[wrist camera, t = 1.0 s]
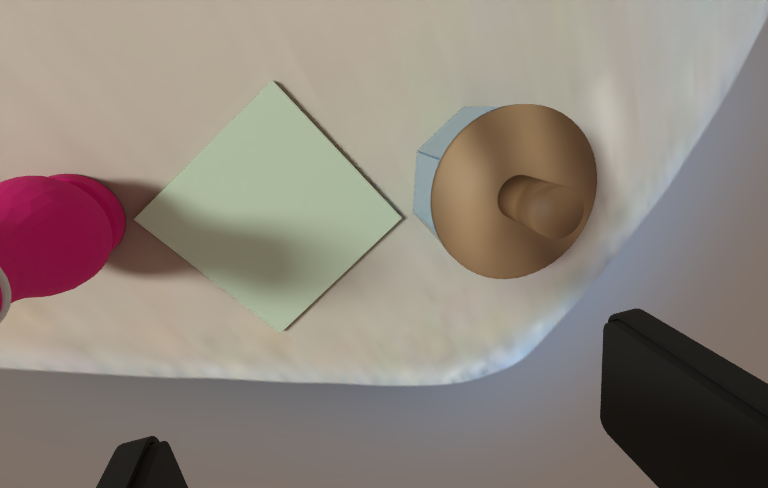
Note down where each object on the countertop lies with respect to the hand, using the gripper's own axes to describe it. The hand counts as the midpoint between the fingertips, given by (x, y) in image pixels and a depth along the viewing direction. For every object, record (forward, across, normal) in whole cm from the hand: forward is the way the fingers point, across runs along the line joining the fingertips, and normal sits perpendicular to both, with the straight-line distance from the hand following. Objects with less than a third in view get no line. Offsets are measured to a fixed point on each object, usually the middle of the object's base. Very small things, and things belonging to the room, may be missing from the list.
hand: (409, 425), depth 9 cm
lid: (+21, -13, +2) cm, 25 cm away
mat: (+26, +4, +1) cm, 26 cm away
